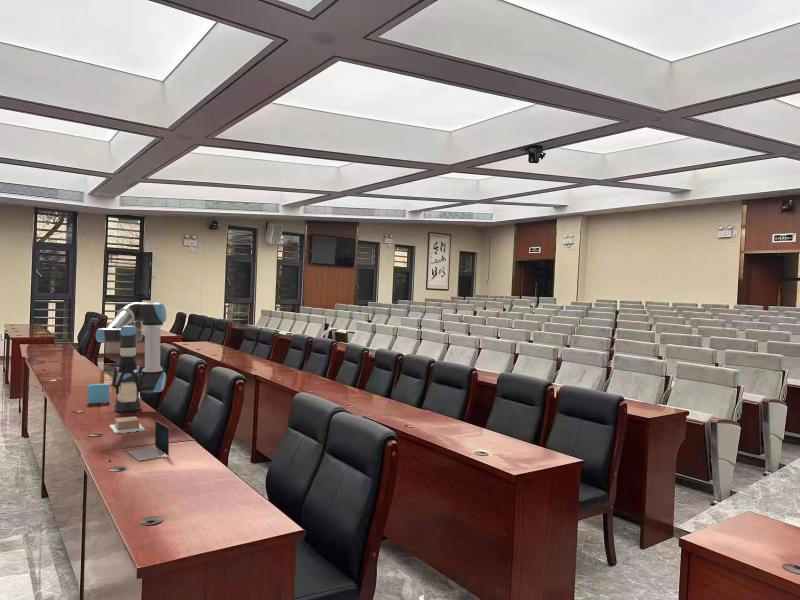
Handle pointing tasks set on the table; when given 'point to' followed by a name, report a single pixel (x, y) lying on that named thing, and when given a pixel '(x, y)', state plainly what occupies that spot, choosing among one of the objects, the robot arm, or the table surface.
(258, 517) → the table surface
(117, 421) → the white tray
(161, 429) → the laptop
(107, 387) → the data package
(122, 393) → the maple block
